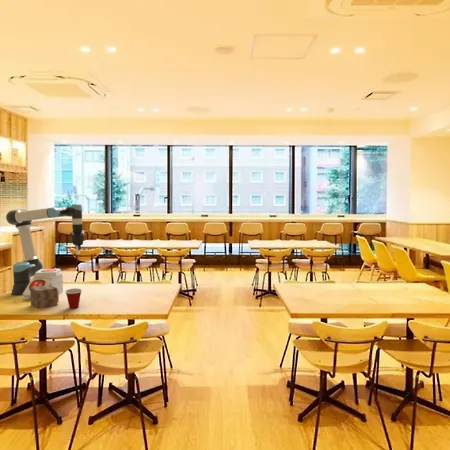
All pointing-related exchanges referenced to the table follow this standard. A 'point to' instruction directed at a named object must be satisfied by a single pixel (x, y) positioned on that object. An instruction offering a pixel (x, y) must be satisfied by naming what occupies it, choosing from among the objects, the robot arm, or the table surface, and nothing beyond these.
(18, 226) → the robot arm
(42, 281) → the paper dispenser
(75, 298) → the plastic cup
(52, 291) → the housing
